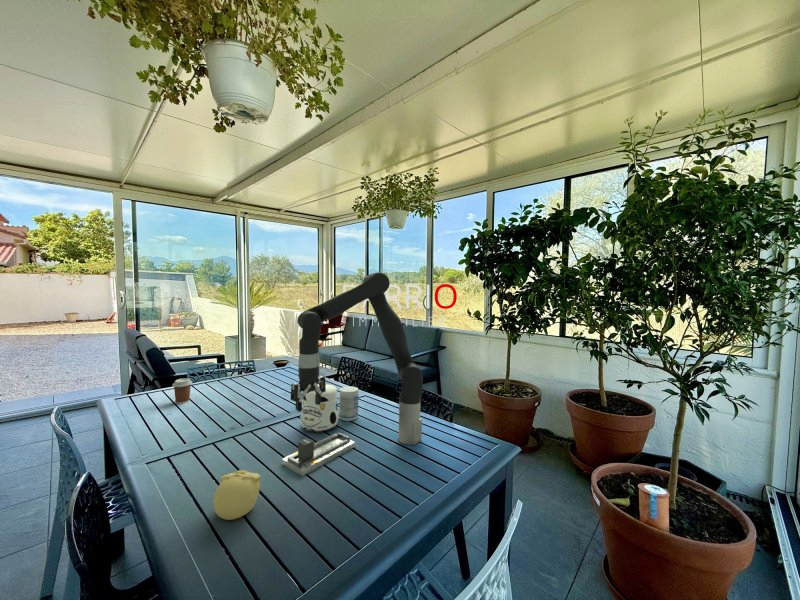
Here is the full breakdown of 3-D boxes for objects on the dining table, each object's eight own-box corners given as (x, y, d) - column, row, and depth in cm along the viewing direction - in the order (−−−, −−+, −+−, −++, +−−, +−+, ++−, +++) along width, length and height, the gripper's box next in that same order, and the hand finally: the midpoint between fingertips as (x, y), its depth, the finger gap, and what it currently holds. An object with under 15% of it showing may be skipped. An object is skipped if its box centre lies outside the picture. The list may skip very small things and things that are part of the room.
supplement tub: (358, 421, 155) (358, 391, 154) (338, 422, 153) (339, 392, 153) (358, 413, 164) (358, 385, 164) (339, 414, 163) (340, 386, 162)
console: (335, 438, 137) (335, 430, 137) (355, 446, 130) (355, 438, 130) (282, 464, 116) (282, 455, 116) (302, 476, 109) (302, 466, 109)
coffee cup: (174, 399, 177) (174, 378, 177) (193, 397, 181) (193, 377, 181) (170, 405, 169) (170, 383, 169) (190, 403, 173) (190, 381, 173)
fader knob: (307, 453, 120) (307, 437, 120) (313, 456, 118) (313, 440, 117) (298, 457, 117) (298, 441, 117) (304, 461, 114) (305, 444, 114)
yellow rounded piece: (265, 496, 98) (265, 462, 98) (247, 525, 86) (247, 487, 86) (227, 496, 98) (227, 462, 97) (205, 525, 86) (205, 487, 85)
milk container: (299, 437, 137) (300, 396, 136) (301, 420, 154) (301, 384, 153) (339, 433, 142) (340, 394, 141) (337, 417, 158) (337, 382, 158)
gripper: (299, 370, 109) (299, 416, 110) (330, 362, 121) (330, 404, 121) (286, 367, 113) (286, 411, 114) (317, 360, 125) (317, 400, 126)
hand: (308, 407), depth 118 cm, fingers open, 8 cm apart
